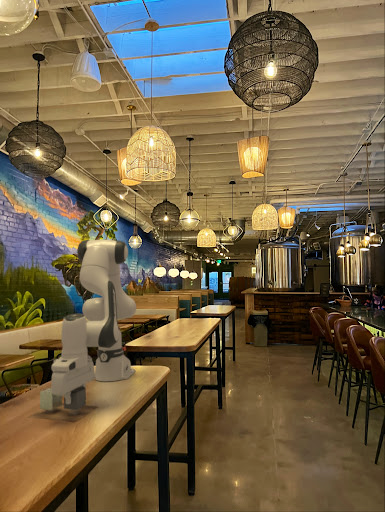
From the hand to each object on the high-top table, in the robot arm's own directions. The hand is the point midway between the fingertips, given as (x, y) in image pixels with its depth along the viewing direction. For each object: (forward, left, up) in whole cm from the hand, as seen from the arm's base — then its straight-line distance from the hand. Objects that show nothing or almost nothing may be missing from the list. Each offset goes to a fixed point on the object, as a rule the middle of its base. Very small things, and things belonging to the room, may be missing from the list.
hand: (74, 400), depth 129 cm
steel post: (0, 0, -5) cm, 5 cm away
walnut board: (-1, -5, -6) cm, 8 cm away
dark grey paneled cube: (0, 0, -2) cm, 2 cm away
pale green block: (0, -10, -5) cm, 11 cm away
